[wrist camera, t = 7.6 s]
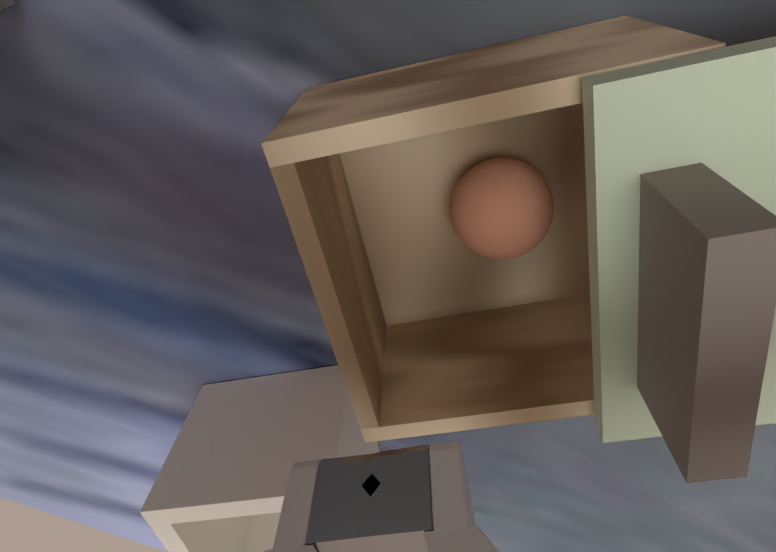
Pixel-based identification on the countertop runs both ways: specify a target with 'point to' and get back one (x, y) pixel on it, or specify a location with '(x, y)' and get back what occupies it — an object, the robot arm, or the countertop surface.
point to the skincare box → (6, 3)
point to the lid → (684, 253)
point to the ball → (502, 208)
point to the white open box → (248, 458)
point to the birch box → (436, 232)
